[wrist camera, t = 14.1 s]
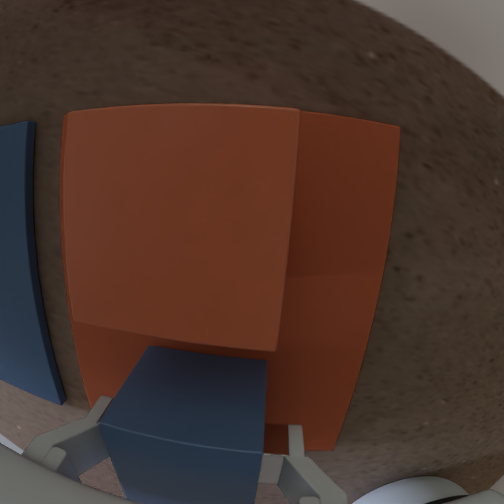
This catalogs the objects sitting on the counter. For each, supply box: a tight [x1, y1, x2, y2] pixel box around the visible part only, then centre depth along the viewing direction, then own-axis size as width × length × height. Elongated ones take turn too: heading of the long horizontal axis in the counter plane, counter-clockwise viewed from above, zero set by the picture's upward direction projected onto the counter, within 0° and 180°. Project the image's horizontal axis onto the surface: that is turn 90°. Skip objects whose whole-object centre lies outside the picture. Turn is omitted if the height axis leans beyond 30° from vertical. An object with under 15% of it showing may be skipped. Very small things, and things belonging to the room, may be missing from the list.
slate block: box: [99, 345, 267, 504], centre depth 10 cm, size 5×5×5 cm
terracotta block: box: [63, 103, 301, 352], centre depth 8 cm, size 5×5×5 cm
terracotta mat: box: [60, 111, 400, 450], centre depth 11 cm, size 14×12×1 cm
